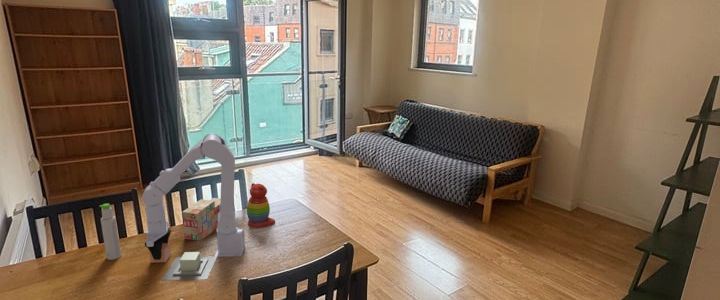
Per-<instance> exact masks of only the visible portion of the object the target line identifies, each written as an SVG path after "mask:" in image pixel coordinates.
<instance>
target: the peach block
mask: <svg viewBox="0 0 720 300" xmlns="http://www.w3.org/2000/svg"><path fill="white" fill-rule="evenodd" d="M148 253H149V262H150V263H153V264H154V263H167V262H168V259H169V258H170V257H171V256H172V255H171V254H172V253H171V244H170V243H169V242H168V243H163V245H162V250H161V259H160V260H154V259H153V256H152V254H151V252H150V251H149V250H148Z"/></svg>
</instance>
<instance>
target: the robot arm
mask: <svg viewBox="0 0 720 300" xmlns="http://www.w3.org/2000/svg"><path fill="white" fill-rule="evenodd" d="M206 158H208V159H211V160H213V161H216V162H217V163H218V164H219V165H221V167H220V168H221V169H220V170H221V171H220V198H221V203H220V211H219V212H218V215H217V218H218V224H217V228H216V240H217V241H216V244H217V250H216V252H215V254H214V256H217V257H242V255H243V253H244V250H245V248H246V237H245V236H246V235H245V229H243V228H239V227H238V225H237V223H236V212H235V211H234V204H235V203H234V201H235V198H234V197H235V172H236V170H235V169H236V168H235V167H236V158H235V155H234V153H233V151H232V149H230V147H229V145H228V144H227V141H226V140H225V139H224V138H223V137H221V136H220V135H218V134H217V133H211V132H210V133H207V134H206V135H205V136H204V137H203V139H200V140H199V141H197V142H196V143H195V144H194V145H193V146H192V147H191V148H190V149H189V150H188V151H187V153H186V154H185V155H184V156H183V157H182V158H181V159H180V160H179V161H178V162H177V163H176V164H174V166H173V167H172V168H171V167H170V168H165V170H161V171H160V172H159V176H158V177H156V179H155V180H154V181H150V182H149V185H147V186H146V187H145V189H144V191H143V193H142V196H141V197H142V201H143V203H144V210H145V217H146V218H145V219H146V225H147V229H146V230H145V232H144V234H145V235H147V237H146V238H147V239H146V240H145V242H144V247H146V248H147V250H148V252H149V251H150V252H151V254H152V256H153V259H154V260H160V259H161V250H162V245H163V243H169V240H170V239H169V238H170V236H171V233H172V229H168V228H169V225H170V224H169V221H167V218H166V211H165V205H164V198H163V196H165V195H166V194H168V193H169V192H170V191H171V190H172V189H173V188H174V187H175V186H176V185H177V184H178V183H179V182H180V181H181V175H182V174H183V173H184V172H185V171H186V170H187V169H188V168H189V167H191V165H193V164H194V163H195V162H196V161H197V160H205V159H206Z"/></svg>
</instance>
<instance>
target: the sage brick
mask: <svg viewBox="0 0 720 300" xmlns="http://www.w3.org/2000/svg"><path fill="white" fill-rule="evenodd" d="M180 257H181V259H180V267H181V272H192V271H197V270H198V268H199V266H200V264H201V261H200V257H201V252H200V251H185V252H183V254H182V256H180Z"/></svg>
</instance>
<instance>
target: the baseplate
mask: <svg viewBox="0 0 720 300" xmlns="http://www.w3.org/2000/svg"><path fill="white" fill-rule="evenodd" d="M181 257H182V256H176V257H175V259H174V261H173V262H172V263H171V265H170V267H169V268H168V270H167V271H166V273H165V274H164V276H163V278H162V279H161V281H193V280H194V281H195V280H197V281H199V280H201V281H202V280H208V277H209V276H210V273H211V272H212V269H213V267H214V264H215V262H216V260H217V258H218V255H217V256H215V255H214V256H211V255H209V256H208V255H207V256H200V261H201V264H200V266H199V268H198V270H197V271H192V272H181V267H180V259H181Z"/></svg>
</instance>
